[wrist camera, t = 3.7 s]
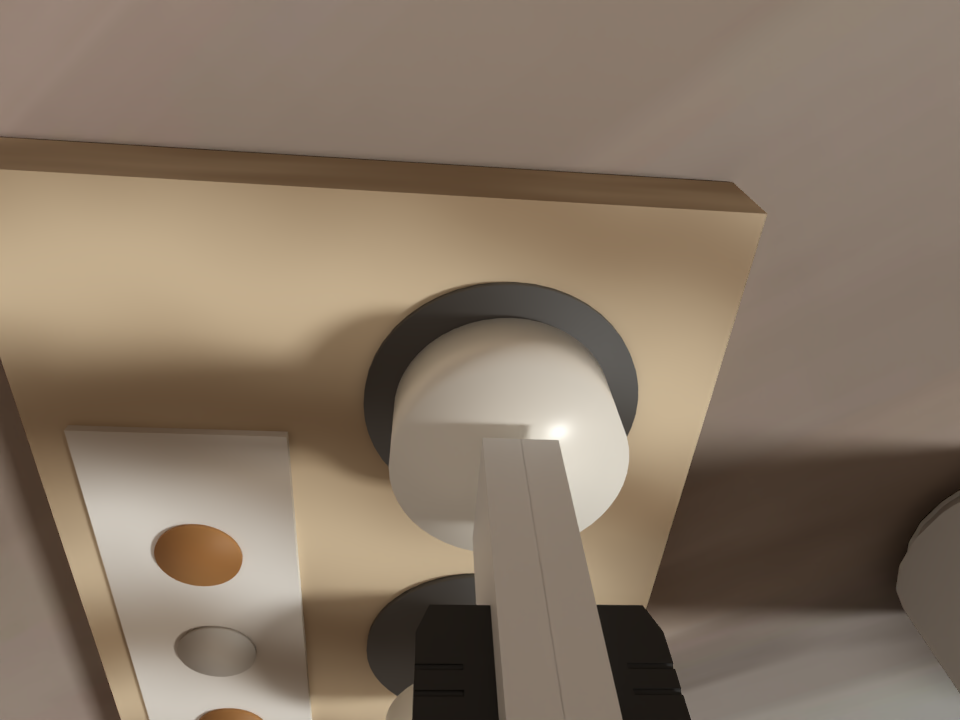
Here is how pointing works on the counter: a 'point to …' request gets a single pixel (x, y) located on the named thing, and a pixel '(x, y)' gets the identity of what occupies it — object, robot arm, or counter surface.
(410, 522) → the button board
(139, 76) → the counter surface
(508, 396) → the button
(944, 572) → the can
